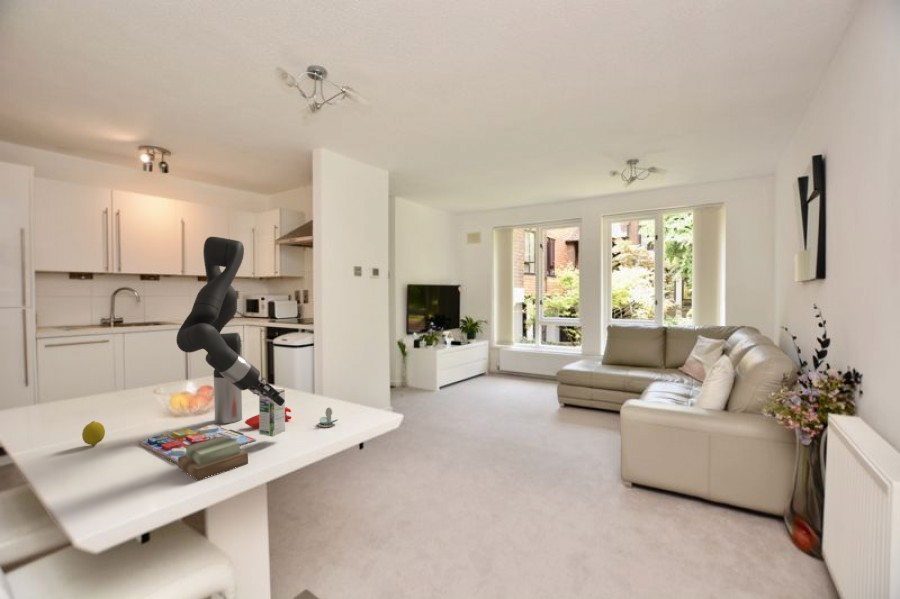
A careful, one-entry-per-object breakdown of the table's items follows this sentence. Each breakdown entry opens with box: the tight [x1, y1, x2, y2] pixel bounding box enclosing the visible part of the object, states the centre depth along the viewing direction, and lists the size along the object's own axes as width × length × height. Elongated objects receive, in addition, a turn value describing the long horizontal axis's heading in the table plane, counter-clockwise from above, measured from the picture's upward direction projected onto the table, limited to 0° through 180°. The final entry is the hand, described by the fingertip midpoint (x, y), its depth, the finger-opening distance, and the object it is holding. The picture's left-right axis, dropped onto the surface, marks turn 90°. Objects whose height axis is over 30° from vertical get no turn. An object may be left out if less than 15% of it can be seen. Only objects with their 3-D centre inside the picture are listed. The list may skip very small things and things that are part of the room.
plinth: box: [177, 436, 249, 481], centre depth 116 cm, size 13×13×6 cm
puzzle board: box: [138, 423, 257, 465], centre depth 135 cm, size 30×23×3 cm
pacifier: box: [316, 406, 339, 428], centre depth 150 cm, size 7×6×6 cm
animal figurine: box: [244, 406, 292, 429], centre depth 151 cm, size 12×15×5 cm
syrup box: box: [258, 386, 286, 437], centre depth 134 cm, size 6×6×14 cm
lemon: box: [82, 420, 106, 447], centre depth 133 cm, size 6×6×8 cm
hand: (276, 401), depth 135 cm, fingers closed on syrup box, 7 cm apart
